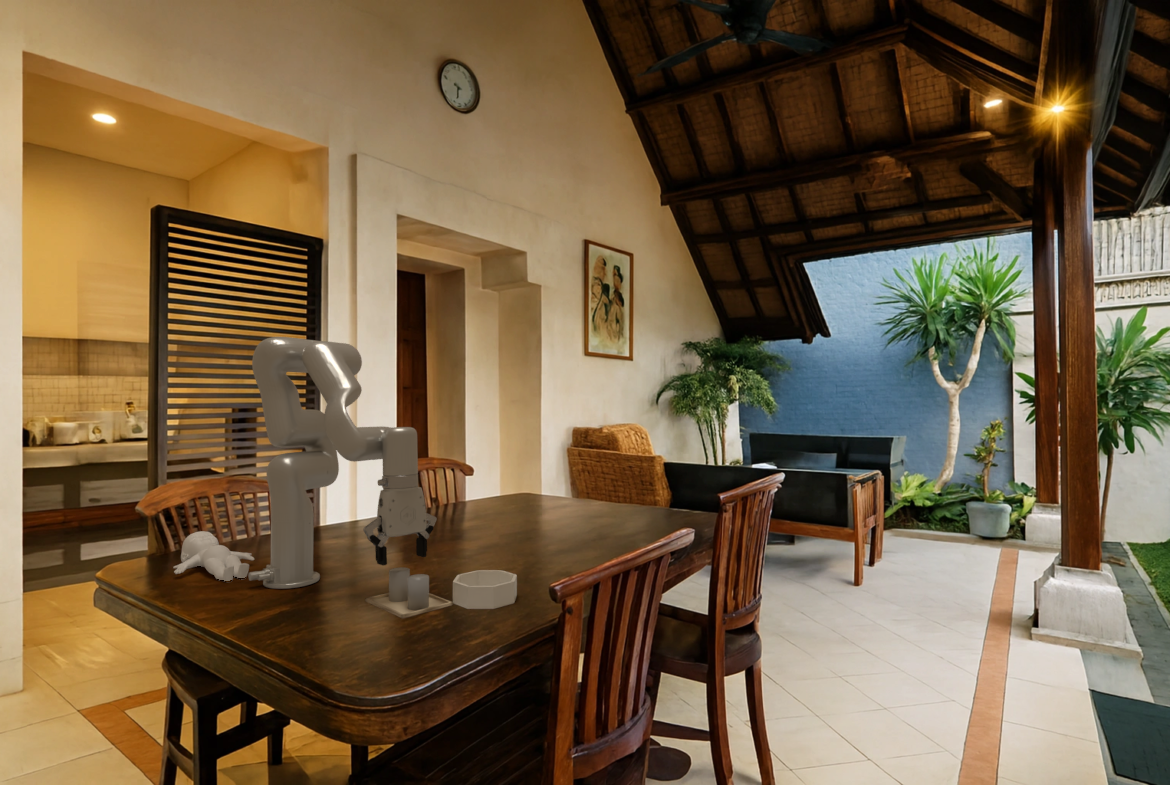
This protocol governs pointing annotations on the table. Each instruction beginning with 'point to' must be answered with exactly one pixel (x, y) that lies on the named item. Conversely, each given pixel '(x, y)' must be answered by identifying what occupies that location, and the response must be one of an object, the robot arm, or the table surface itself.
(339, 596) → the table surface
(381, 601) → the tray
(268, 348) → the robot arm
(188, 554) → the doll
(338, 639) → the table surface
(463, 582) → the bowl
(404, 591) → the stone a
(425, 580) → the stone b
